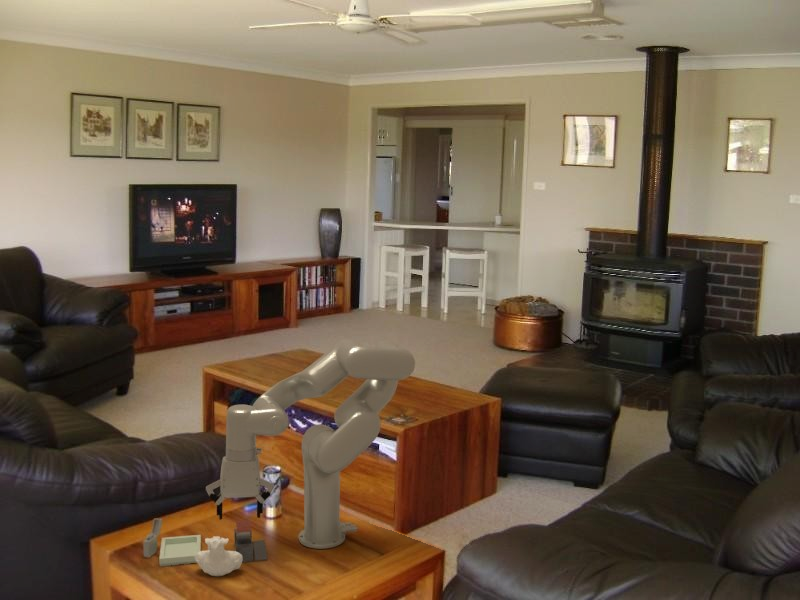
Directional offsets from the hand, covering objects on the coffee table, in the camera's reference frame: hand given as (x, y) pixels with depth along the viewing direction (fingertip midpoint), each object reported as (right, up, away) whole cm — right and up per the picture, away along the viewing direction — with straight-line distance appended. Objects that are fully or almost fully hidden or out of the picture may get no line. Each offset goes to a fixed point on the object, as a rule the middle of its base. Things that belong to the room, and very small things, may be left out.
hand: (239, 516), depth 223 cm
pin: (+1, -10, +2) cm, 10 cm away
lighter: (-23, -10, +2) cm, 25 cm away
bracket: (+2, -10, +2) cm, 10 cm away
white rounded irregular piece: (-4, -12, -9) cm, 15 cm away
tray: (-15, -10, +1) cm, 18 cm away
